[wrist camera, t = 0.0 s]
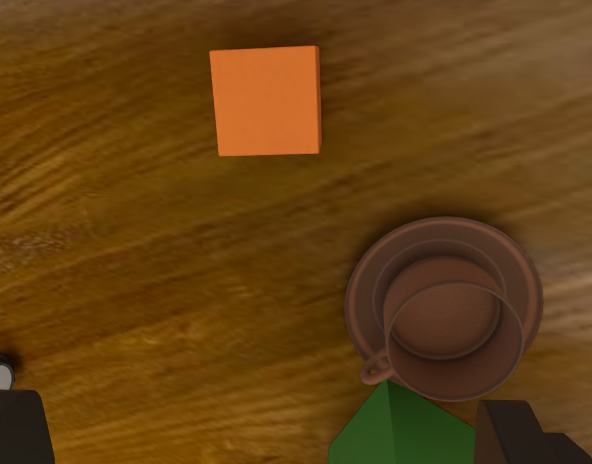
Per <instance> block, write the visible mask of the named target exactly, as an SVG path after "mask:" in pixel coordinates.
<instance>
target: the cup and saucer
mask: <svg viewBox="0 0 592 464" xmlns="http://www.w3.org/2000/svg"><path fill="white" fill-rule="evenodd" d="M542 313H543V291H542V285H541V281H540V278H539V275H538V273H537V270H536V268H535V266H534V264H533V262H532V261H531V259H530V258H529V256H528V255H527V253H526V252H525V251H524V250H523V249H522V248H521V247H520V245H519V244H517V243H516V242H515V241H514V240H513V239H512V238H510V237H509V236H508V235H506V234H505V233H503V232H502V231H500V230H498V229H496V228H494V227H492V226H490V225H488V224H485V223H482V222H479V221H476V220H472V219H468V218H462V217H451V216H442V217H431V218H425V219H420V220H416V221H413V222H410V223H407V224H405V225H403V226H400V227H398V228H396V229H394V230H393V231H391V232H389V233H388V234H386V235H385V236H383V237H382V238H380V239H379V240H378V241H377V242H376V243H375V244H373V245H372V246H371V247H370V249H369V250H368V251H367V252H366V253H365V254H364V255H363V257H362V258H361V259H360V261H359V263H358V264H357V266H356V267H355V269H354V271H353V273H352V275H351V278H350V281H349V283H348V287H347V291H346V296H345V320H346V326H347V329H348V333H349V335H350V338H351V340H352V342H353V344H354V346H355V348H356V350H357V351H358V353H359V354H360V356H361V357H362V358H363V359H364V360H365V364H364V365H363V367H362V369H361V372H360V378H361V380H362V382H363V383H365V384H367V385H374V384H378V383H380V382H382V381H384V380H386V379H388V380H390V381H392V382H394V383H396V384H398V385H401V386H403V387H406V388H409V389H411V390H413V391H414V392H416V393H418V394H420V395H422V396H424V397H427V398H430V399H433V400H438V401H444V402H462V401H468V400H473V399H476V398H479V397H482V396H484V395H487V394H489V393H491V392H492V391H494V390H496V389H497V388H499V387H500V386H501V385H502V384H504V383H505V382H506V381H507V380H508V379H509V378H510V376H511V375H512V374H513V373H514V371H515V370H516V368H517V366H518V364H519V362H520V360H521V357H522V356H523V355H524V354H525V353H526V351H527V350H528V348H529V347H530V345H531V344H532V342H533V340H534V338H535V336H536V334H537V331H538V329H539V326H540V322H541V319H542ZM372 368H373V369H374V370H375V371H376V372H378V373H377V374H374V375H370V371H371V369H372Z"/></svg>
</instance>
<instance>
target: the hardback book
mask: <svg viewBox="0 0 592 464" xmlns="http://www.w3.org/2000/svg"><path fill="white" fill-rule="evenodd" d="M475 432H476V429H475V428H473V427H471V426H470V425H468V424H466V423H465V422H463V421H461V420H460V419H458V418H456V417H455V416H453V415H451V414H450V413H448V412H446V411H445V410H443V409H441V408H440V407H438V406H436V405H434V404H433V403H431V402H429V401H428V400H426V399H424V398H423V397H421V396H419V395H418V394H416V393H414V392H413V391H411V390H409V389H408V388H406V387H403V386H401V385H398V384H396V383H394V382H392V381H390V380H388V379H386V380H384V381H382V382H381V383H380V384H379V386H378V387H377V388H376V389H375V390H374V392H373V393H372V394H371V395H370V397H369V398H368V399H367V400H366V402H365V403H364V404H363V405H362V407H361V408H360V409H359V410H358V412H357V413H356V414H355V415H354V417H353V418H352V419H351V420H350V421H349V423H348V424H347V425H346V426H345V428H344V429H343V430H342V431H341V433H340V434H339V435H338V436H337V438H336V439H335V440H334V441H333V443H332V444H331V445H330V446H329V452H328V464H473V461H474V447H475Z"/></svg>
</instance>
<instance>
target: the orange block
mask: <svg viewBox="0 0 592 464" xmlns="http://www.w3.org/2000/svg"><path fill="white" fill-rule="evenodd" d="M210 63H211V74H212V85H213V96H214V107H215V118H216V129H217V140H218V152H219V156H248V155H283V154H317V153H319V150H320V147H321V144H322V126H321V93H320V60H319V47H318V46H314V45H313V46H293V47H273V48H253V49H233V50H213V51H210Z"/></svg>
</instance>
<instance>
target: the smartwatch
mask: <svg viewBox="0 0 592 464" xmlns="http://www.w3.org/2000/svg"><path fill="white" fill-rule="evenodd" d="M14 382H15V374H14V369H13V364H12V361H11V358H10V357H9V356H6V355H3V354H0V389H7V390H12V387H13V383H14Z"/></svg>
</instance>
